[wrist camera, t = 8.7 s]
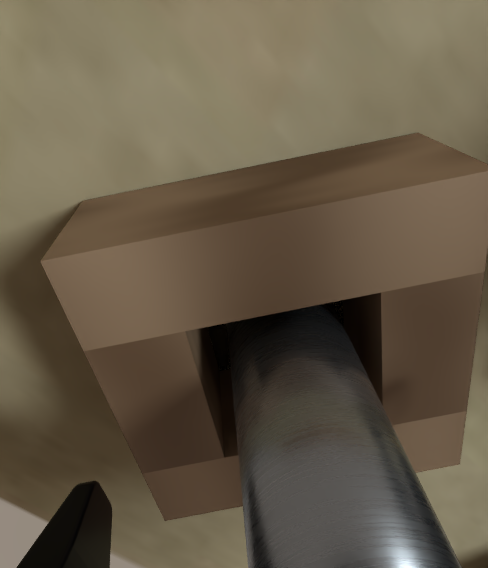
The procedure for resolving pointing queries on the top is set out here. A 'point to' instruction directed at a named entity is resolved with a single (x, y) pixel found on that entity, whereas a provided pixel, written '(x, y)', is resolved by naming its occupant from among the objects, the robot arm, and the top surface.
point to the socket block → (278, 296)
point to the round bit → (322, 453)
